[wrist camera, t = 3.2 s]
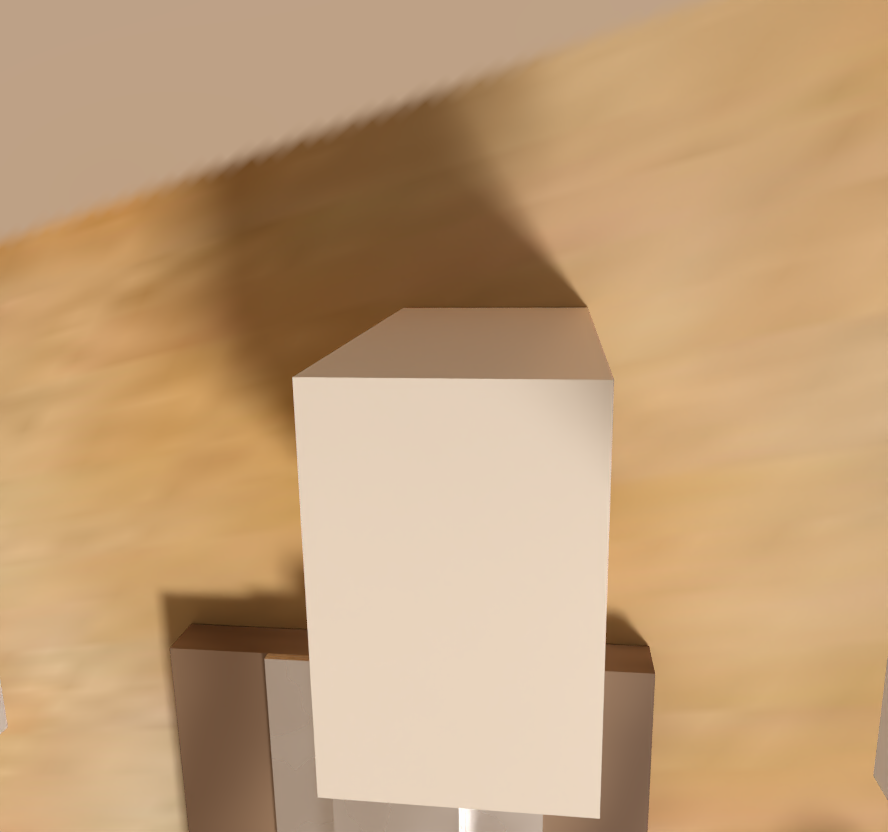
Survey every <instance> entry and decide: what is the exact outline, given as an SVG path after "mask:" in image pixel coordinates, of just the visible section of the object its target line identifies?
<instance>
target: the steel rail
mask: <svg viewBox="0 0 888 832" xmlns="http://www.w3.org/2000/svg"><path fill="white" fill-rule="evenodd" d="M264 661H265V674H266V688H267V701H268V714H269V728H270V741H271V755H272V768H273V782H274V795H275V808H276V822H277V832H543V814H530V813H517V812H503V811H490V810H477V809H463V808H450V807H437V806H423V805H410V804H397V803H384V802H370V801H357V800H344V799H330V798H318V794H317V778H316V761H315V744H314V728H313V711H312V695H311V678H310V662H309V656H307V655H288V654H269V653H268V654H267V655H266V657H265V659H264Z"/></svg>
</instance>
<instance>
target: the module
mask: <svg viewBox="0 0 888 832" xmlns="http://www.w3.org/2000/svg"><path fill="white" fill-rule="evenodd" d="M292 380H293V397H294V413H295V430H296V446H297V463H298V480H299V496H300V513H301V529H302V546H303V562H304V579H305V595H306V612H307V629H308V645H309V662H310V678H311V695H312V711H313V728H314V744H315V761H316V778H317V794H318V798H330V799H344V800H357V801H370V802H384V803H397V804H410V805H423V806H437V807H450V808H463V809H477V810H490V811H503V812H517V813H530V814H543V815H557V816H570V817H583V818H596V819H600V797H601V766H602V736H603V705H604V674H605V643H606V613H607V582H608V551H609V521H610V490H611V459H612V429H613V398H614V378H613V376H612V373H611V370H610V367H609V365H608V362H607V359H606V356H605V354H604V351H603V348H602V345H601V343H600V340H599V337H598V334H597V332H596V329H595V326H594V323H593V321H592V318H591V315H590V312H589V310H588V307H579V308H402V309H400V310H399V311H397V312H396V313H394V314H393V315H391V316H389V317H388V318H386V319H385V320H383V321H381V322H380V323H378V324H377V325H375V326H373V327H372V328H370V329H369V330H367V331H365V332H364V333H362V334H361V335H359V336H357V337H356V338H354V339H353V340H351V341H349V342H348V343H346V344H345V345H343V346H341V347H340V348H338V349H337V350H335V351H333V352H332V353H330V354H329V355H327V356H325V357H324V358H322V359H321V360H319V361H317V362H316V363H314V364H313V365H311V366H309V367H308V368H306V369H305V370H303V371H301V372H300V373H298V374H297V375H295V376H293V377H292Z"/></svg>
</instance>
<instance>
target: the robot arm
mask: <svg viewBox="0 0 888 832" xmlns="http://www.w3.org/2000/svg"><path fill="white" fill-rule="evenodd" d="M7 727H8V726H7V720H6V713H5V707H4V701H3V694H2V688H1V682H0V734H1V733H2V732H3V731H4V730H5V729H6V728H7ZM873 776H874V778H875V780H876V781H877V783H878V785H879V786H880V788H881V790H882V791H883V793H884V795H885V796H886V798H887V800H888V660H887V668H886V676H885V684H884V693H883V701H882V709H881V717H880V726H879V734H878V742H877V750H876V759H875V767H874V775H873Z"/></svg>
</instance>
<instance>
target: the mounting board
mask: <svg viewBox="0 0 888 832" xmlns="http://www.w3.org/2000/svg"><path fill="white" fill-rule="evenodd" d="M268 653H269V654H288V655H307V656H309V645H308V630H304V629H283V628H263V627H242V626H222V625H201V624H191V625H190V626H189V627H188V628H187V629H186V631H185V632H184V633H183V634H182V635H181V636H180V637H179V639H178V640H177V641H176V642H175V643H174V644H173V645H172V646H171V648H170V654H171V664H172V673H173V683H174V692H175V702H176V712H177V721H178V731H179V741H180V750H181V760H182V769H183V779H184V789H185V798H186V808H187V818H188V827H189V832H277V822H276V808H275V795H274V782H273V768H272V755H271V741H270V728H269V714H268V701H267V688H266V674H265V661H264V659H265V657H266V655H267V654H268ZM654 686H655V671H654V667H653V662H652V658H651V653H650V648H649V646H633V645H612V644H605V674H604V705H603V736H602V766H601V797H600V819H596V818H583V817H570V816H557V815H543V832H647V830H648V810H649V789H650V769H651V748H652V727H653V707H654Z"/></svg>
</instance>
